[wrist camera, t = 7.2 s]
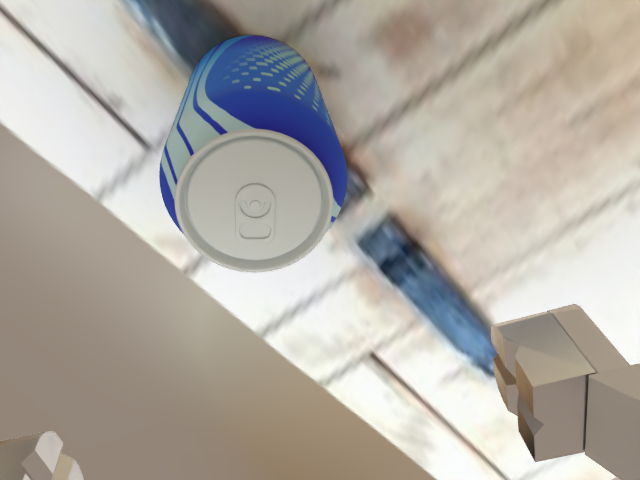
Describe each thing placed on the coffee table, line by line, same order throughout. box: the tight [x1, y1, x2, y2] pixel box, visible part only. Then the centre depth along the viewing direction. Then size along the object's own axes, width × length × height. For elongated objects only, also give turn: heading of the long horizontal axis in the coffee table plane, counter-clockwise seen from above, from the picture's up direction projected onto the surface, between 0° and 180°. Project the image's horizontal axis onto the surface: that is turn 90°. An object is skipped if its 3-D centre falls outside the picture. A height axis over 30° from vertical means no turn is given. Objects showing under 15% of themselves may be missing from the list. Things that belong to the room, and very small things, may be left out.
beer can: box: [160, 35, 347, 272], centre depth 30 cm, size 8×8×16 cm
